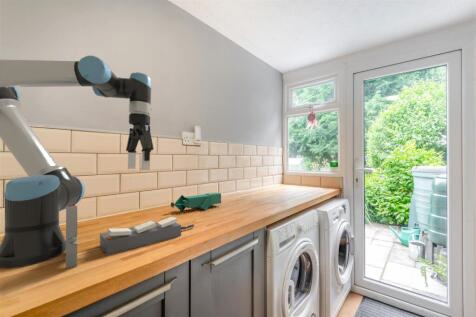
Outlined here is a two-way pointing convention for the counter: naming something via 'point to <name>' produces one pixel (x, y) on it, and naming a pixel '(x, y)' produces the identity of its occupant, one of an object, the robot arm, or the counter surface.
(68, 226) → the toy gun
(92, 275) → the counter surface
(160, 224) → the rocker right
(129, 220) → the counter surface
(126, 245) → the strip
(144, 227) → the rocker mid
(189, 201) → the toy
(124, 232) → the rocker left
